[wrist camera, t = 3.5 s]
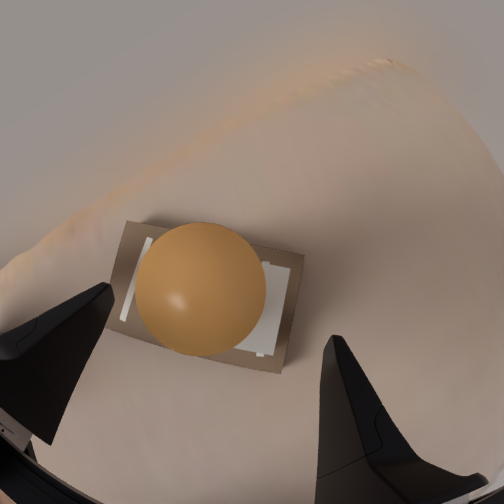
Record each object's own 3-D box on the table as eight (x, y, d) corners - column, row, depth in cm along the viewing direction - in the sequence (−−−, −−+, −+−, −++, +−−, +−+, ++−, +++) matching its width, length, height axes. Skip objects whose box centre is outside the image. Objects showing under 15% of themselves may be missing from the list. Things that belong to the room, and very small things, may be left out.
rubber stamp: (270, 349, 17) (295, 406, 6) (180, 329, 17) (82, 347, 6) (285, 274, 18) (331, 217, 7) (196, 256, 18) (124, 182, 7)
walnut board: (278, 369, 18) (280, 374, 16) (110, 325, 18) (101, 325, 17) (300, 259, 19) (304, 255, 18) (134, 226, 20) (126, 220, 19)
